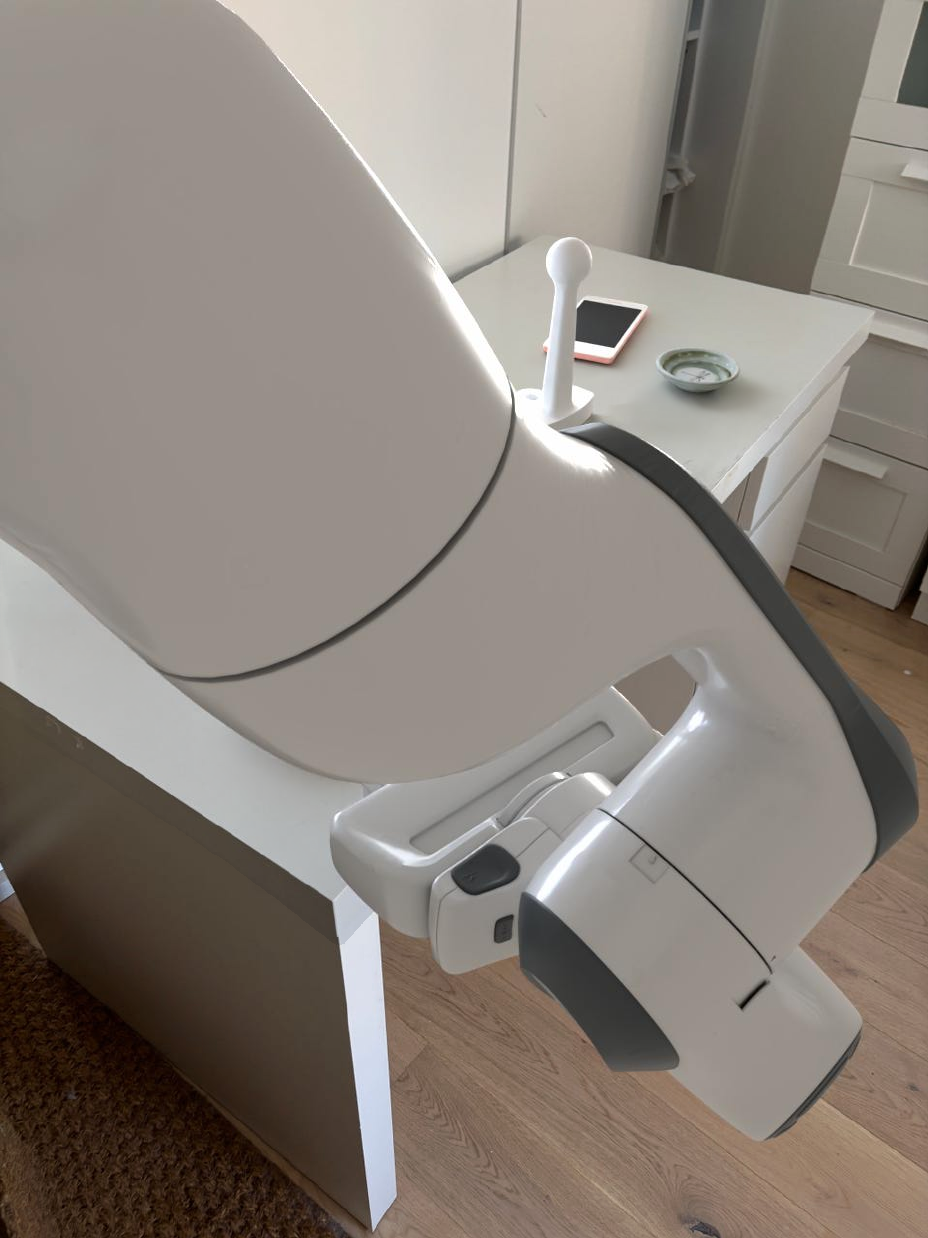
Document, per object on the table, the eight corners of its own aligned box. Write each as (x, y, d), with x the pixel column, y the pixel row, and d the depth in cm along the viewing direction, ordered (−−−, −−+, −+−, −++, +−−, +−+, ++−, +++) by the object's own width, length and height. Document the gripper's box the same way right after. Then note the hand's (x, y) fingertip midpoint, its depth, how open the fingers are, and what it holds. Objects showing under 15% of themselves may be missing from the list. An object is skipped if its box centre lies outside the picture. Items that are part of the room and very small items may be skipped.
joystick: (538, 451, 101) (554, 258, 88) (483, 426, 105) (491, 238, 92) (600, 414, 107) (623, 230, 94) (547, 392, 111) (562, 212, 98)
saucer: (666, 358, 119) (669, 339, 117) (744, 375, 116) (748, 356, 114) (642, 390, 112) (645, 371, 110) (725, 409, 109) (729, 389, 107)
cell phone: (541, 351, 119) (542, 344, 119) (584, 300, 132) (585, 293, 131) (611, 365, 117) (611, 357, 116) (648, 311, 130) (649, 304, 129)
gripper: (708, 729, 55) (545, 608, 63) (422, 924, 45) (272, 750, 53) (690, 800, 59) (538, 678, 68) (424, 994, 49) (284, 823, 57)
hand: (418, 711), depth 60 cm, fingers open, 8 cm apart
